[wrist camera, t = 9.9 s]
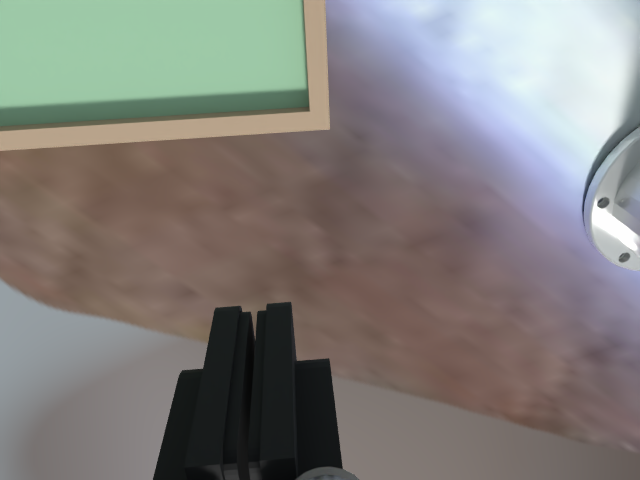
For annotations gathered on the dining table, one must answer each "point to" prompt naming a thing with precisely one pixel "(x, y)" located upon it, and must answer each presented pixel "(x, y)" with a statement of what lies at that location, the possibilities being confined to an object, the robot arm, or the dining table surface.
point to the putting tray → (159, 70)
